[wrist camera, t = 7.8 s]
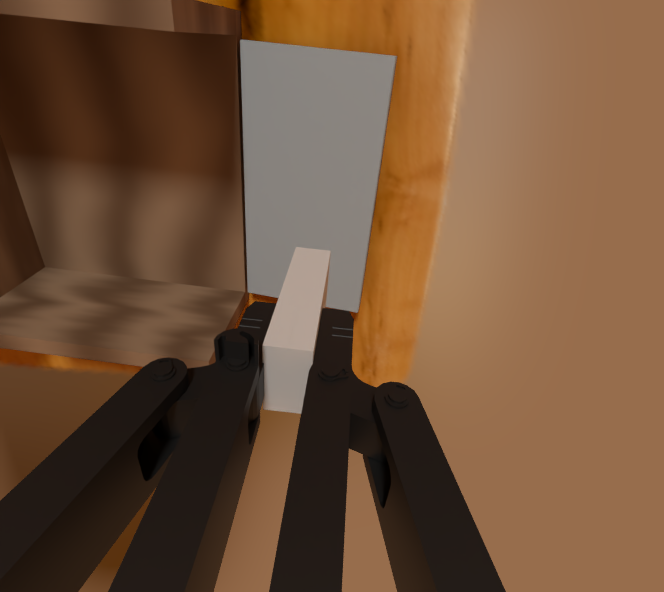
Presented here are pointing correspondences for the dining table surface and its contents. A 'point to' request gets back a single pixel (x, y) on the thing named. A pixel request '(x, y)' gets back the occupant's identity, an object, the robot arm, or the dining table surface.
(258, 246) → the panel
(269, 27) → the dining table surface
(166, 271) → the crate
